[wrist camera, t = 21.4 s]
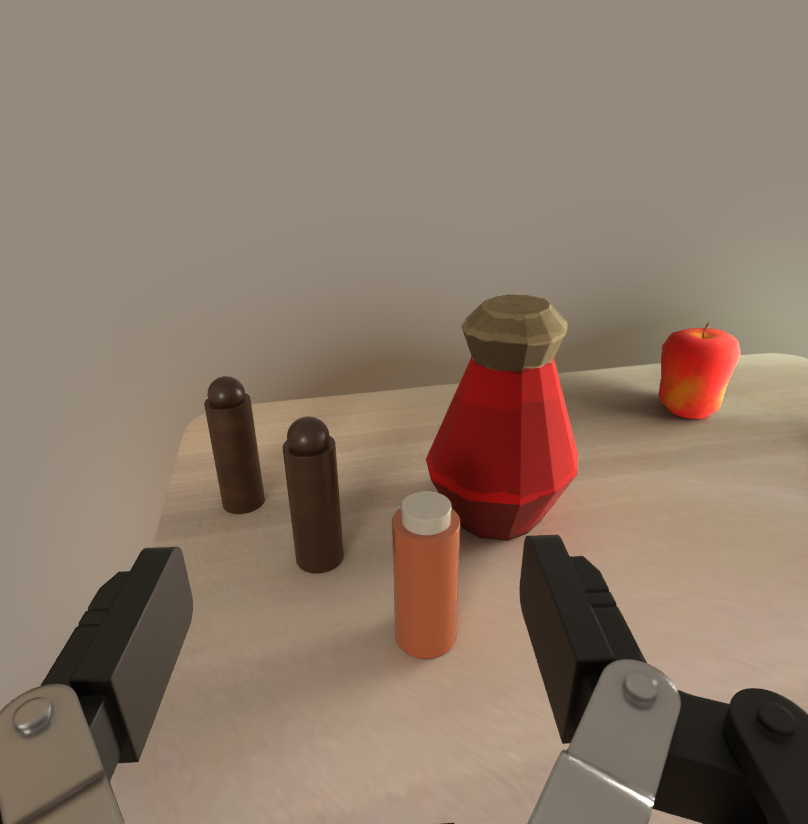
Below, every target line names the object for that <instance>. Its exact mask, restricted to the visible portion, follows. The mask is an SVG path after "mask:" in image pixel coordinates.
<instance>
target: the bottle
mask: <svg viewBox="0 0 808 824" xmlns="http://www.w3.org/2000/svg"><path fill="white" fill-rule="evenodd" d="M462 329H463V332H464V335H465V338H466V340H467V344H468V347H469V350H470V352H471V355H472V357H471V360H470V362H469V364H468V366H467V368H466V370H465V373H464V375H463V377H462V379H461V382H460V384H459V386H458V388H457V391H456V393H455V395H454V397H453V400H452V402H451V404H450V406H449V409H448V411H447V413H446V415H445V418H444V420H443V422H442V424H441V426H440V429H439V431H438V433H437V435H436V438H435V440H434V442H433V444H432V447H431V449H430V451H429V453H428V456H427V458H426V461H427V465H428V469H429V474H430V478H431V481H432V482H433V484H434V486H435V487H436V489H437V491H438V492H439V493H440V494H442V495H444V496H445V497H447V498H448V499H449V501H450V502H451V508H452V509H453V510H454V511H455V512H456V513H457V514H458V516H459V518H460V526H461V527H463V528H464V529H466V530H468V531H469V532H471V533H473V534H474V535H476V536H478V537H480V538H489V539H498V540H507V541H508V540H511V539H513V538H516V537H519V536H522V535H524V534H527V533H528V532H529V531H530V530H531V529H533V528H534V527H535V526H536V525H537V524H538V523H539V522H540V521H541V520H542V519H543V517H544V516H545V515H546V513H547V512H548V511H549V510H550V508H551V507H552V506H553V505H554V503H555V502H556V501H557V499H558V498H559V497H560V496H561V494H562V493H563V492H564V491H565V489H566V488H567V487H568V485H569V484H570V483H571V482H572V480H573V479H574V478H575V477H576V475H577V455H578V453H577V449H576V445H575V441H574V437H573V433H572V429H571V425H570V421H569V417H568V413H567V409H566V405H565V401H564V397H563V393H562V389H561V385H560V381H559V377H558V373H557V369H556V365H555V361H554V356H555V354H556V352H557V350H558V348H559V346H560V344H561V342H562V340H563V338H564V336H565V334H566V332H567V322H566V321H565V320H564V319H563V317H562V316H561V315H560V314H559V313H558V312H557V311H556V310H555V308H554V307H553V306H552V305H551V304H550V303H549V302H548V301H547V300H545V299H542V298H538V297H533V296H528V295H505V296H498V297H494V298H491V299H488V300H485V301H484V302H483V303H482V304H481V305H480V306H479V307H478V308H477V309H476V310H474V311H473V312H472V313H471V314H470V315H469V316H468V317H467V318H466V320H465V321H464V323H463V324H462Z"/></svg>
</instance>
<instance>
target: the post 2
mask: <svg viewBox="0 0 808 824" xmlns="http://www.w3.org/2000/svg"><path fill="white" fill-rule="evenodd" d="M283 455H284V463H285V471H286V480H287V488H288V496H289V505H290V513H291V521H292V529H293V538H294V546H295V554H296V562H297V564H298V566H299V567H300V568H301V569H302V570H304V571H306V572H310V573H324V572H327V571H330V570H332V569H334V568H336V567H337V566H338V565H339V564H340V563H341V562H342V560H343V555H344V554H343V541H342V527H341V514H340V500H339V487H338V474H337V460H336V447H335V441H334V439H333V438H332V437H331V436H329V431H328V429H327V427H326V425H325V424H324V423H323V422H322V421H321V420H319V419H317V418H315V417H302V418H299V419H298V420H296V421H295V422H294V423H293V424H292V425H291V426H290V428H289V430H288V433H287V441H286V442H285V443H284V445H283Z"/></svg>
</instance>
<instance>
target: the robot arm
mask: <svg viewBox="0 0 808 824" xmlns="http://www.w3.org/2000/svg"><path fill="white" fill-rule="evenodd" d="M520 603H521V609H522V613H523V617H524V620H525V623H526V626H527V630H528V633H529V636H530V639H531V643H532V646H533V649H534V653H535V656H536V659H537V662H538V666H539V669H540V672H541V675H542V679H543V682H544V685H545V689H546V692H547V695H548V698H549V702H550V705H551V708H552V711H553V715H554V718H555V721H556V725H557V728H558V731H559V734H560V738H561V741H562V744H565V743H570V745H569V747H568V749H567V751H565V750H563V751H562V752H561V753H560V755H559V757H558V759H557V761H556V763H555V765H554V767H553V769H552V771H551V773H550V776H549V778H548V780H547V782H546V784H545V787H544V789H543V791H542V793H541V795H540V797H539V800H538V802H537V804H536V806H535V808H534V811H533V813H532V815H531V817H530V819H529V821H528V824H648V822H649V819H650V815H651V811H652V809H656V810H659V811H662V812H666V813H669V814H673V815H676V816H679V817H683V818H686V819H690V820H693V821H697V822H700V823H703V824H808V714H807V713H806V712H805V711H804V710H803V709H801V708H800V707H799V706H798V705H796V704H795V703H793V702H792V701H791V700H789V699H787V698H785V697H783V696H781V695H779V694H777V693H774V692H771V691H768V690H764V689H756V688H750V689H744V690H741V691H739V692H737V693H736V694H735V695H734V696H733V698H732V699H731V702H730V704H727V703H723V702H718V701H714V700H710V699H706V698H702V697H697V696H694V695H690V694H687V693H684V692H682V691H679V690H678V689H677V688H676V687H675V685H674V684H673V682H672V681H671V680H670V679H669V678H668V677H667V676H666V675H665V674H664V673H663V672H661V671H660V670H658V669H657V668H655V667H653V666H651V665H649V664H647V662H646V661H645V659H644V657H643V655H642V653H641V651H640V649H639V647H638V645H637V643H636V641H635V639H634V637H633V635H632V633H631V631H630V629H629V627H628V625H627V623H626V622H625V620H624V618H623V616H622V614H621V612H620V610H619V608H618V607H617V606H616V602H615V600H614V598H613V596H612V594H611V592H609V588H608V586H607V584H606V582H605V580H604V579H603V577H602V575H601V573H600V571H599V570H598V569H597V568H596V567H595V566H593V565H592V564H591V563H590V562H589V561H588V560H587V559H586V558H585V557H583V556H574V557H569V555H568V553H567V550H566V548H565V546H564V544H563V542H562V539H561V538H560V536H559V535H538V536H526V538H525V541H524V550H523V559H522V569H521V578H520ZM192 612H193V599H192V593H191V589H190V584H189V580H188V575H187V571H186V567H185V562H184V558H183V554H182V551H181V549H180V548H179V547H161V548H145V549H143V550H142V551H141V553H140V554H139V556H138V558H137V560H136V561H135V563H134V565H133V567H132V569H131V570H130V571H127V572H118V573H117V574H116V575H115V576H113V577H112V578H111V579H110V580H109V581H108V582H106V583H105V584H104V585H103V586H102V587H101V588H100V589H99V590H98V592H97V594H96V595H95V597H94V598H93V600H92V602H91V603H90V605H89V607H88V611H86V612H85V613H84V615H83V617H82V618H81V620H80V621H79V626H78V627H76V628H75V630H74V632H73V633H72V635H71V636H70V638H69V640H68V641H67V643H66V645H65V646H64V648H63V650H62V651H61V653H60V654H59V656H58V658H57V659H56V661H55V663H54V665H53V666H52V668H51V669H50V671H49V673H48V674H47V676H46V678H45V679H44V681H43V683H42V684H41V686H40V687H37V688H34V689H31V690H29V691H27V692H25V693H23V694H21V695H20V696H18V697H17V698H15V699H14V700H12V701H11V702H10V703H9V704H7V705H6V706H5V707H4V708H3V709H2V710H1V711H0V824H125V822H124V820H123V817H122V814H121V811H120V809H119V806H118V803H117V800H116V798H115V795H114V792H113V789H112V787H111V784H110V780H111V778H112V775H113V773H114V771H115V768H116V766H117V763H130V762H139V759H140V756H141V754H142V751H143V748H144V746H145V743H146V740H147V738H148V735H149V732H150V730H151V727H152V725H153V722H154V719H155V717H156V714H157V711H158V709H159V706H160V703H161V701H162V698H163V695H164V693H165V690H166V687H167V685H168V682H169V679H170V677H171V674H172V672H173V669H174V666H175V664H176V661H177V658H178V656H179V653H180V650H181V648H182V645H183V642H184V640H185V637H186V634H187V632H188V629H189V626H190V623H191V619H192ZM444 824H454V823H444Z"/></svg>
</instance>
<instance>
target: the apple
mask: <svg viewBox="0 0 808 824" xmlns="http://www.w3.org/2000/svg"><path fill="white" fill-rule="evenodd" d="M709 325H710V324H709V322H708V323H707V325H706V327H705V328H691V329H685V330H681V331H678V332H674V333H672V334H671V335H670V336H669V337H668V339H667V340H666V341H665V343H664V344H663V346H662V356H661V382H660V389H659V398H660V401H661V402H662V403H663V404H664V405H665V406H666V407H667V409H668V410H669V411H670V412H671V413H673V414H675V415H677V416H680V417H684V418H691V419H702V418H705V417H708V416H709V415H711V414H712V413H714V412H715V411H717V410H719V409H720V406H721V402H722V399H723V395H724V392H725V389H726V385H727V383H728V381H729V379H730V377H731V374H732V372H733V370H734V368H735V366H736V363H737V361H738V359H739V356H740V354H741V352H740V348H739V344H738V341H737V340H736V339H735V337H733V336H731V335H729V334H727V333H726V332H723V331H721V330H717V329H708V327H709Z"/></svg>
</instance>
